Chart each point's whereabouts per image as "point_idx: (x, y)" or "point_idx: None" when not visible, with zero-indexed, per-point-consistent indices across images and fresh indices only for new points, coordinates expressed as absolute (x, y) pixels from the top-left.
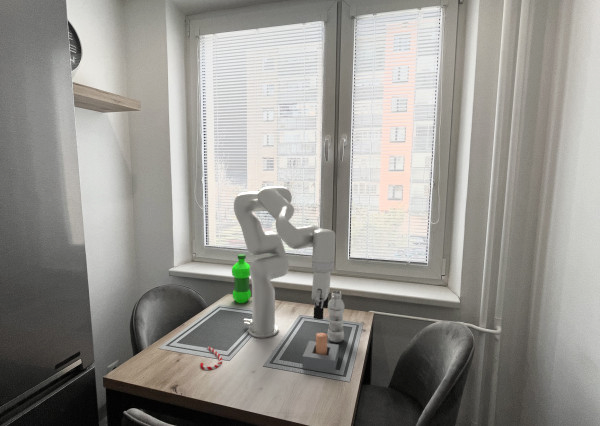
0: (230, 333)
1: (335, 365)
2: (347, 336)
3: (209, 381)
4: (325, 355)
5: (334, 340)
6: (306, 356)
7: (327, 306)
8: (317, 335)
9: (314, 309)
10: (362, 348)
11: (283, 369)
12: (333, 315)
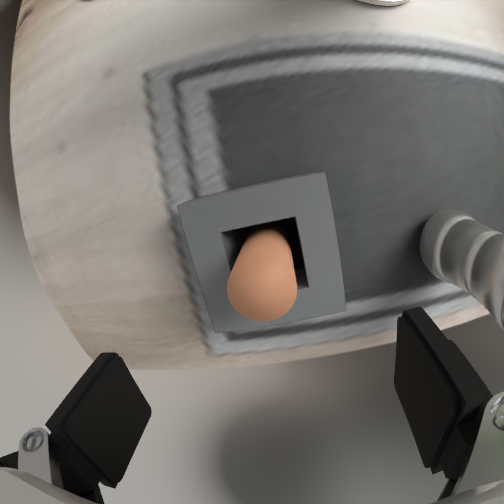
0: None
1: None
2: None
3: (48, 35)
4: None
5: (420, 248)
6: (182, 222)
7: (402, 396)
8: (249, 268)
9: (61, 412)
10: None
11: (156, 141)
12: (487, 280)
